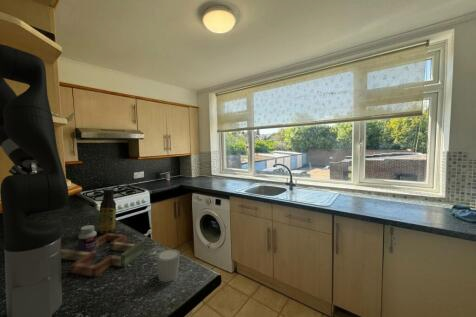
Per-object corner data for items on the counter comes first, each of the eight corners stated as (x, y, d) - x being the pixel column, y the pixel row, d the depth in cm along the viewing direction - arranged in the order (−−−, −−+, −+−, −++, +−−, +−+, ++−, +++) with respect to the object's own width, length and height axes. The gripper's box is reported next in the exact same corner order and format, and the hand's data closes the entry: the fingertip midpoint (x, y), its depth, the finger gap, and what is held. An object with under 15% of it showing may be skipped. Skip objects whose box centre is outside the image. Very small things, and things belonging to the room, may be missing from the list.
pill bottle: (87, 257, 71) (86, 231, 70) (74, 255, 72) (74, 229, 71) (100, 250, 76) (100, 225, 76) (88, 248, 77) (88, 223, 77)
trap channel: (38, 268, 64) (37, 256, 64) (96, 237, 86) (95, 228, 86) (110, 278, 60) (110, 266, 60) (152, 243, 82) (152, 234, 82)
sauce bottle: (96, 235, 88) (96, 190, 87) (102, 229, 94) (101, 187, 93) (113, 234, 90) (113, 190, 88) (117, 228, 96) (117, 187, 94)
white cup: (171, 266, 68) (172, 246, 67) (184, 275, 63) (184, 254, 63) (152, 276, 62) (152, 254, 62) (164, 286, 58) (164, 263, 57)
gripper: (2, 145, 66) (34, 183, 65) (49, 145, 80) (76, 177, 79) (-11, 160, 67) (21, 198, 66) (38, 158, 81) (64, 189, 80)
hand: (50, 186), depth 72 cm, fingers open, 5 cm apart
